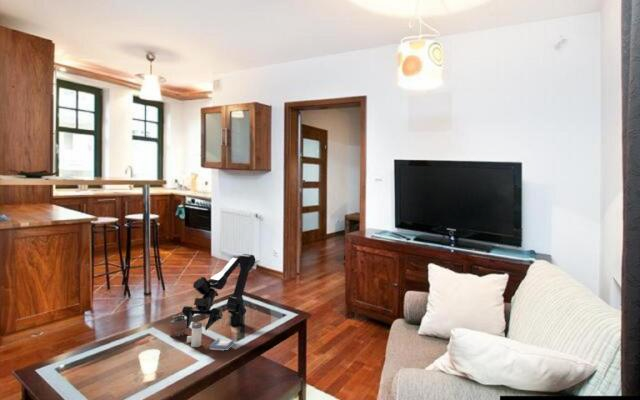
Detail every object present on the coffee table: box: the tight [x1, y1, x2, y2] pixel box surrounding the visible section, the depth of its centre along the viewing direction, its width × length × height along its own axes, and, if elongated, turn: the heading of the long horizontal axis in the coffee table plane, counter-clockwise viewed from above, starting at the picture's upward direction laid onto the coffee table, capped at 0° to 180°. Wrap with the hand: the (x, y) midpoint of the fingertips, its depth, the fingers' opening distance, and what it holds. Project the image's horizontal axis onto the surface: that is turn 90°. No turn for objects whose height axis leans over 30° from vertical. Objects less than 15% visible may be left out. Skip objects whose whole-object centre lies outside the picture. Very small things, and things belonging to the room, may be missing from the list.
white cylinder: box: [190, 321, 203, 348], centre depth 165 cm, size 4×4×10 cm
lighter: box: [169, 314, 187, 338], centre depth 177 cm, size 8×3×10 cm, turn 134°
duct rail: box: [186, 335, 192, 343], centre depth 169 cm, size 6×2×2 cm, turn 122°
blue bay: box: [209, 338, 235, 351], centre depth 165 cm, size 9×8×2 cm
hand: (196, 329), depth 165 cm, fingers open, 9 cm apart
